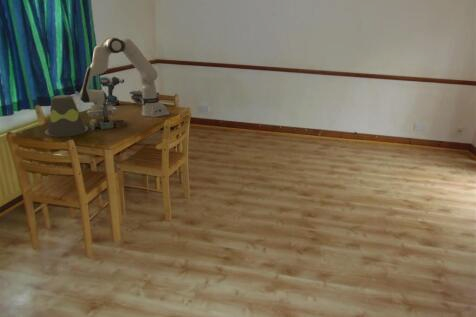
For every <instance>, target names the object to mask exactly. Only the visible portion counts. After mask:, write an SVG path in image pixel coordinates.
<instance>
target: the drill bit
mask: <svg viewBox="0 0 476 317" xmlns="http://www.w3.org/2000/svg"><path fill="white" fill-rule="evenodd" d="M102 108H103V116H102V117H103V121H104V123H107V122H109V120H110V119H109V115H108V110H107V102H106V101H103V105H102Z"/></svg>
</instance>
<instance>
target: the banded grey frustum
mask: <svg viewBox="0 0 476 317" xmlns="http://www.w3.org/2000/svg"><path fill="white" fill-rule="evenodd" d="M48 119H49V120H48V128H47V129H46V130H45V131H44V134H45V136H46V135H47V136H50V137H55V138H56V137H57V138H59V137H61V138H62V137H72V136H77V135H78V136H79V135H82V134H85V133H86V132H87V131H89V127H88V126H87V125H85V124H84V122H83V120H82V117H81V115H80V113H79V112H78V108H77V106H76V103H75V101H74V98H73V97H72V96H71V95H68V94H67V95H66V94H60V95H55V96H53V97H52V99H51V104H50V115H49V118H48Z"/></svg>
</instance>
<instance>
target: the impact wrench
mask: <svg viewBox="0 0 476 317" xmlns="http://www.w3.org/2000/svg"><path fill="white" fill-rule="evenodd" d="M99 82H100V84H101V85H102V87H107V88H108V89H107V91H108V95H107V102H106V105H112V106H118V105H119V104H120V100H119V99H118V97H117V95H116V96H115V95H114V94H113V91H114V89H115V86H116V85H117V86H118V85H120V84H124V83H125V79H124V78H123V79H122V78H121V79H120V78H118V77H116V76H102V77H100V78H99Z"/></svg>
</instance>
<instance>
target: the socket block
mask: <svg viewBox="0 0 476 317" xmlns="http://www.w3.org/2000/svg"><path fill="white" fill-rule="evenodd" d="M108 120H109V122H107V123H104V120H97V121H98V123H99V127H98V128H100V129H101V130H106V129H113V128H114V127H115V126H114V125H113V120H111V119H108ZM88 123H89V129H91V130H92V131H96V127H94V124H93V123H92V122H90V121H89V122H88Z"/></svg>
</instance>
